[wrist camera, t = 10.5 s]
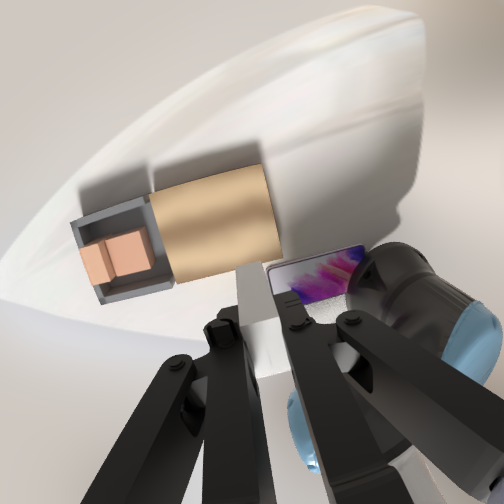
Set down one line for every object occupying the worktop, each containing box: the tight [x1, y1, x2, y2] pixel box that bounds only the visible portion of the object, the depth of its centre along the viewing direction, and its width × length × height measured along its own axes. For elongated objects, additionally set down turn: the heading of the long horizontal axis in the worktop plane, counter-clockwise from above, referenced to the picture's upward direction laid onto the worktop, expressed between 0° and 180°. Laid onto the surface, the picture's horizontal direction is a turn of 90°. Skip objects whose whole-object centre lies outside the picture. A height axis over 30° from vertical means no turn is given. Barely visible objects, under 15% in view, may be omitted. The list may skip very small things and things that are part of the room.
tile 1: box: [79, 234, 116, 286], centre depth 35 cm, size 5×5×3 cm
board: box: [149, 164, 283, 284], centre depth 37 cm, size 12×14×3 cm
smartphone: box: [266, 243, 366, 305], centre depth 42 cm, size 7×1×15 cm
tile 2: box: [105, 226, 156, 277], centre depth 36 cm, size 5×5×3 cm
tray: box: [70, 193, 176, 305], centre depth 36 cm, size 12×11×4 cm
